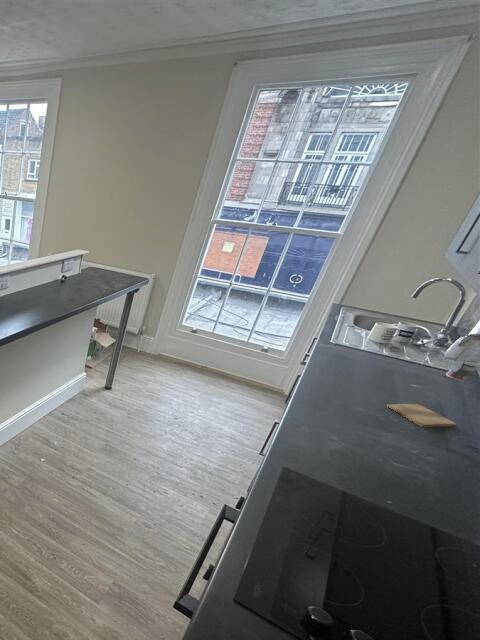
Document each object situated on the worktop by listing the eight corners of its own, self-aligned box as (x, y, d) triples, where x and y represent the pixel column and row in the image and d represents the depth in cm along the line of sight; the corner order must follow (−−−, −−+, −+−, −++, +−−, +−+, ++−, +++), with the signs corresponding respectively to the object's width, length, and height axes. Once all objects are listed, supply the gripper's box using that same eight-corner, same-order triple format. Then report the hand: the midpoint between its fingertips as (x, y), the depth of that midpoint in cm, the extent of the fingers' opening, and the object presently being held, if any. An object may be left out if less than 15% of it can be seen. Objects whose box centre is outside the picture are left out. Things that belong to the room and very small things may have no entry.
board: (454, 425, 137) (456, 423, 137) (421, 427, 135) (423, 424, 134) (416, 405, 147) (418, 403, 147) (385, 406, 145) (387, 404, 144)
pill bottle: (443, 372, 139) (460, 351, 135) (461, 376, 137) (480, 355, 133) (448, 378, 136) (466, 356, 131) (467, 382, 134) (486, 360, 130)
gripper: (479, 337, 124) (447, 376, 131) (529, 338, 127) (495, 375, 134) (455, 329, 129) (426, 366, 136) (504, 329, 132) (473, 366, 139)
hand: (461, 370), depth 135 cm, fingers closed on pill bottle, 5 cm apart
